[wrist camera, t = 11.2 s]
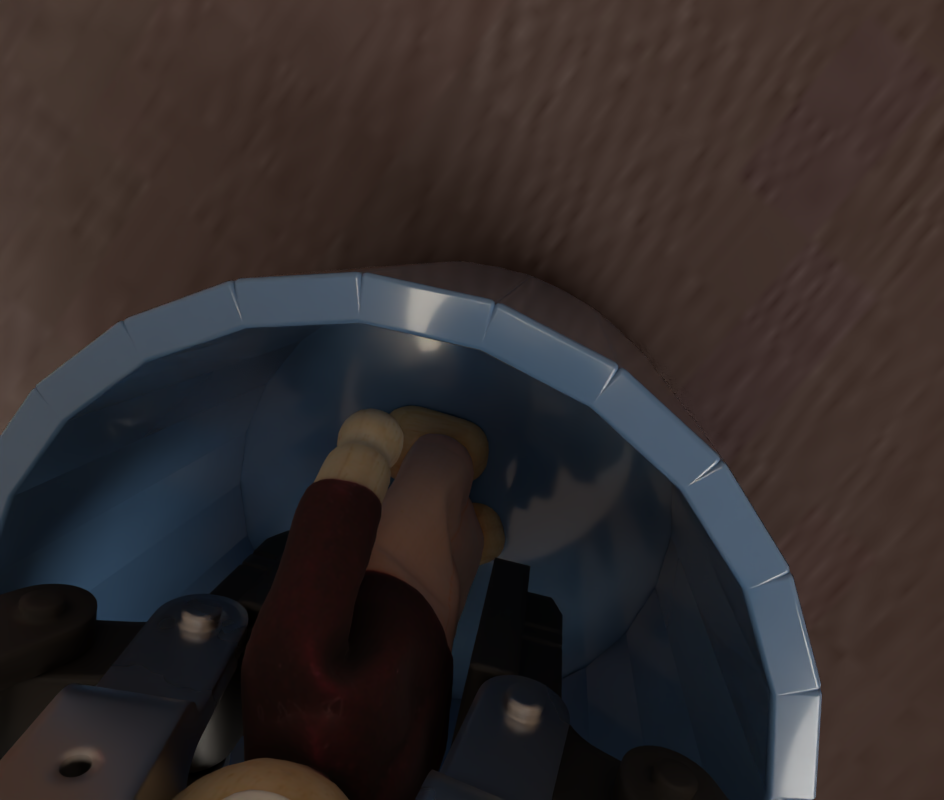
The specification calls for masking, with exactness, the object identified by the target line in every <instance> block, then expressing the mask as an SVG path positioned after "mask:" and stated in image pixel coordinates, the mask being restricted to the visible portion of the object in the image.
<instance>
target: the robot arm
mask: <svg viewBox="0 0 944 800" xmlns="http://www.w3.org/2000/svg"><path fill="white" fill-rule="evenodd" d="M289 531H290V530H287V531H285V532H282V533H280V534H277V535H275V536H272V537H270V538H267V539H266V540H265V541H264V542H263V543H262V544H261V545H260V546H259V547H258V548H257V549H255V550H254V552H253V554H250V555H249V556H248V557H247V558H246V559H245V560H244V561H243V563H242V565H239V566H238V567H237V568H236V569H235V570H234V571H233V572H231V573H230V574H229V575H228V576H227V577H226V578H225V579H224V580H223V581H222V582H221V583H220V584H219V585H218V586H217V587H216V588H215V589H214V590H213V591H212V592H211V593H210V594H192V595H186V596H182V597H178V598H175V599H173V600H170V601H168V602H166V603H164V604H163V605H162V606H160V607H159V608H158V609H157V610H156V611H155V612H154V613H153V615H152V616H151V617H150V618H149V620H148V621H147V622H129V621H109V620H96V619H97V600H96V598H95V596H94V595H93V594H92V593H90V592H89V591H87V590H85V589H83V588H80V587H77V586H73V585H67V584H41V585H34V586H28V587H25V588H21V589H17V590H14V591H11V592H8V593H4V594H1V595H0V800H172V799H173V798H174V797H175V796H176V795H177V794H178V793H180V792H181V791H182V790H184V789H185V788H187V787H188V786H189V785H191V784H192V783H193V782H195V781H196V780H198V779H200V778H202V777H203V776H205V775H207V774H209V773H212V772H214V771H216V770H219V769H221V768H223V767H225V766H228V765H229V761H230V754H231V751H232V750H233V749H234V747H235V746H236V744H237V743H238V741H239V740H240V738H241V737H242V736H243V722H242V703H241V666H242V660H243V657H244V654H245V649H246V645H247V643H248V641H249V639H250V636H251V632H252V629H253V626H254V624H255V622H256V619H257V617H258V614H259V611H260V609H261V607H262V605H263V603H264V601H265V599H266V597H267V595H268V593H269V591H270V589H271V587H272V584H273V581H274V578H275V576H276V573H277V571H278V568H279V564H280V561H281V558H282V556H283V552H284V549H285V545H286V542H287V538H288V534H289ZM529 576H530V566H528V565H524V564H520V563H516V562H512V561H508V560H504V559H500V558H496V557H495V559H494V563H493V568H492V572H491V576H490V580H489V585H488V589H487V593H486V597H485V601H484V606H483V610H482V614H481V618H480V623H479V627H478V631H477V635H476V640H475V644H474V648H473V652H472V656H471V661H470V665H469V669H468V674H467V678H466V682H465V687H464V691H463V695H462V700H461V704H460V708H459V713H458V717H457V721H456V726H455V730H454V734H453V739H452V743H451V747H450V751H449V753H448V755H447V757H446V759H445V761H444V763H443V765H442V767H441V769H440V771H439V772H438V771H435V770H433V769H432V770H431V771H430V772H429V774H428V775H427V777H426V779H425V781H424V783H423V784H422V786H421V789H420V791H419V793H418V795H417V797H416V799H415V800H729V799H728V798H727V797H726V795H725V794H724V793H723V791H722V790H721V789H720V787H719V786H718V785H717V783H716V782H715V781H714V780H713V778H712V777H711V776H710V775H709V774H708V773H707V772H706V771H705V770H704V769H703V768H702V767H700V766H699V765H698V764H696V763H695V762H694V761H692V760H691V759H689V758H687V757H686V756H684V755H682V754H680V753H678V752H675V751H673V750H670V749H667V748H663V747H659V746H650V745H645V746H638V747H635V748H633V749H631V750H629V751H628V752H627V753H626V754H625V755H624V756H623V758H622V761H620V760H618V759H616V758H614V757H613V756H611V755H609V754H607V753H605V752H603V751H601V750H600V749H598V748H596V747H595V746H593V745H591V744H590V743H589V742H587V741H586V740H585V739H583V738H582V737H581V736H580V735H579V734H578V733H577V732H576V731H575V730H574V729H573V728H572V726H571V725H570V715H569V711H568V709H567V706H566V705H565V703H564V701H563V700H562V620H563V615H562V613H561V612H560V610H559V608H558V607H557V605H556V604H555V602H554V600H553V599H552V598H551V597H547V596H543V595H539V594H535V593H531V592H528V585H529Z"/></svg>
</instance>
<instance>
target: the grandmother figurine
mask: <svg viewBox="0 0 944 800" xmlns="http://www.w3.org/2000/svg"><path fill="white" fill-rule="evenodd" d="M488 454H489V447H488V440H487V437H486V435H485V433H484V432H483V431H482V429H481V428H480V427H479V426H478V425H476V424H474V423H472V422H470V421H467V420H465V419H461V418H458V417H454V416H451V415H448V414H444V413H441V412H438V411H435V410H431V409H427V408H424V407H419V406H404V407H401V408H398V409H395V410H394V411H392V412H391V413H390V414H388V413H386V412H384V411H381V410H378V409H372V408H370V409H363V410H359V411H358V412H356V413H354V414H352V415H351V416H350V417H349V418H347V419H346V420H345V421H344V423H343V425H342V426H341V429H340V431H339V433H338V440H337V447H336V448H335V449H334V450H332V451H331V452H330V453H329V454H328V456H327V458H326V459H325V461H324V463H323V465H322V467H321V469H320V471H319V473H318V475H317V477H316V479H315V481H314V482H313V483H312V484H311V485H310V486H309V487H308V488H307V489H306V491H305V492H304V494H303V496H302V498H301V499H300V501H299V504H298V506H297V508H296V511H295V514H294V517H293V520H292V523H291V527H290V531H289V534H288V538H287V542H286V545H285V549H284V552H283V556H282V558H281V561H280V564H279V568H278V571H277V573H276V576H275V578H274V581H273V584H272V587H271V589H270V591H269V593H268V595H267V597H266V599H265V601H264V603H263V605H262V607H261V609H260V611H259V614H258V617H257V619H256V622H255V624H254V626H253V629H252V632H251V636H250V639H249V641H248V643H247V645H246V649H245V654H244V657H243V660H242V666H241V703H242V722H243V736H244V762H241V763H237V764H233V765H228V766H225V767H223V768H221V769H219V770H216V771H214V772H212V773H209V774H207V775H205V776H203V777H202V778H200V779H198V780H196V781H195V782H193V783H192V784H191V785H189V786H188V787H187V788H185V789H184V790H182V791H181V792H180V793H178V794H177V795H176V796H175V797H174V798H173V799H172V800H415V799H416V797H417V795H418V793H419V791H420V789H421V786H422V784H423V783H424V781H425V779H426V777H427V775H428V774H429V772H430V771H431V770H432V769H433V770H435V771H439V769H440V766H441V763H442V761H443V757H444V754H445V751H446V745H447V739H448V727H449V715H450V707H451V700H452V686H453V656H452V646H453V640H454V638H455V635H456V630H457V625H458V621H459V619H460V616H461V614H462V611H463V608H464V606H465V603H466V600H467V596H468V593H469V590H470V587H471V585H472V583H473V580H474V578H475V575H476V573H477V570H478V567H479V565H482V564H485V563H488V562H490V561H492V560H494V559H495V557H496V558H497V557H498V556H499V555H500V554H501V552H502V550H503V548H504V543H505V534H504V529H503V525H502V522H501V519H500V517H499V515H498V514H497V513H496V512H495V511H494V510H493V509H492V508H490V507H489V506H487V505H484V504H481V503H472V502H471V500H470V498H469V494H470V490H471V486H472V482H473V480H475V479H477V478H478V477H479V476H480V475H481V474H482V473H483V471H484V469H485V468H486V466H487V461H488ZM390 477H392V478H394V479H395V480H394V481H393V483H392V484H391V486H390V487H389V484H390ZM388 487H389V489H388Z"/></svg>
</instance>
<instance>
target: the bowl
mask: <svg viewBox="0 0 944 800" xmlns="http://www.w3.org/2000/svg"><path fill="white" fill-rule="evenodd" d="M404 406H419V407H424V408H427V409H431V410H435V411H438V412H441V413H444V414H448V415H451V416H454V417H458V418H461V419H465V420H467V421H470V422H472V423H474V424H476V425H478V426H479V427H480V428H481V429H482V431H483V432H484V433H485V435H486V437H487V440H488V447H489V454H488V461H487V466H486V468H485V469H484V471H483V473H482V474H481V475H480V476H479V477H478V478H477V479H475V480H473V482H472V486H471V490H470V494H469V498H470V500H471V502H472V503H481V504H484V505H487V506H489V507H490V508H492V509H493V510H494V511H495V512H496V513H497V514H498V515H499V517H500V519H501V522H502V525H503V529H504V534H505V543H504V548H503V550H502V552H501V554H500V555H499V556H498V557H497V558H500V559H504V560H508V561H512V562H516V563H520V564H524V565H528V566H530V576H529V585H528V592H531V593H535V594H539V595H543V596H547V597H551V598H552V599H553V600H554V602H555V604H556V605H557V607H558V608H559V610H560V612H561V613H562V615H563V620H562V700H563V701H564V703H565V705H566V706H567V709H568V711H569V715H570V725H571V726H572V728H573V729H574V730H575V731H576V732H577V733H578V734H579V735H580V736H581V737H582V738H583V739H585V740H586V741H587V742H589V743H590V744H591V745H593V746H595V747H596V748H598V749H600V750H601V751H603V752H605V753H607V754H609V755H611V756H613V757H614V758H616V759H618V760H620V761H622V758H623V756H624V755H625V754H626V753H627V752H628V751H629V750H631V749H633V748H635V747H638V746H645V745H650V746H659V747H663V748H667V749H670V750H673V751H675V752H678V753H680V754H682V755H684V756H686V757H687V758H689V759H691V760H692V761H694V762H695V763H696V764H698V765H699V766H700V767H702V768H703V769H704V770H705V771H706V772H707V773H708V774H709V775H710V776H711V777H712V778H713V780H714V781H715V782H716V783H717V785H718V786H719V787H720V789H721V790H722V791H723V793H724V794H725V795H726V797H727V798H728V799H729V800H814V799H815V798H816V785H817V768H818V752H819V735H820V718H821V702H822V692H821V690H820V687H821V681H820V677H819V673H818V669H817V665H816V662H815V658H814V654H813V650H812V646H811V642H810V639H809V635H808V631H807V627H806V623H805V619H804V616H803V612H802V608H801V604H800V600H799V596H798V592H797V589H796V585H795V581H794V577H793V575H792V574H791V572H790V570H789V565H788V563H787V562H786V560H785V558H784V557H783V555H782V553H781V552H780V550H779V549H778V547H777V545H776V544H775V542H774V540H773V539H772V537H771V535H770V534H769V532H768V531H767V529H766V527H765V526H764V524H763V522H762V521H761V519H760V518H759V516H758V514H757V513H756V511H755V509H754V508H753V506H752V504H751V503H750V501H749V500H748V498H747V496H746V495H745V493H744V491H743V490H742V488H741V487H740V485H739V483H738V482H737V480H736V478H735V477H734V475H733V474H732V472H731V470H730V469H729V467H728V465H727V464H726V462H725V461H724V460H723V458H722V457H721V456H720V454H719V453H718V452H717V450H716V449H715V448H714V446H713V445H712V444H711V442H710V441H709V440H708V438H707V437H706V436H705V434H704V433H703V432H702V430H701V429H700V428H699V426H698V425H697V424H696V422H695V421H694V420H693V419H692V417H691V416H690V415H689V413H688V412H687V411H686V409H685V408H684V407H683V405H682V404H681V403H680V401H679V400H678V399H677V397H676V396H675V395H674V393H673V392H672V391H671V389H670V388H669V387H668V385H667V384H666V383H665V381H664V380H663V379H662V377H661V376H660V375H659V373H658V372H657V371H656V369H655V368H654V367H653V365H652V364H651V363H650V361H649V360H648V359H647V357H645V355H644V354H643V353H642V352H641V351H640V350H639V349H638V348H637V347H636V346H635V345H634V344H633V343H632V342H631V341H629V340H628V339H627V338H626V337H625V336H624V335H623V334H622V333H621V331H620V330H619V329H618V328H617V327H615V326H614V325H613V324H612V323H610V322H609V321H608V320H607V319H606V318H605V317H603V316H602V315H601V314H600V313H599V312H598V311H597V310H596V309H593V308H592V307H591V306H590V305H588V304H586V303H584V302H582V301H580V300H579V299H577V298H575V297H574V296H572V295H570V294H569V293H567V292H565V291H564V290H562V289H560V288H557V287H555V286H553V285H551V284H548V283H546V282H544V281H542V280H540V279H538V278H536V277H532V276H530V275H528V274H524V273H519V272H515V271H511V270H508V269H504V268H501V267H495V266H488V265H482V264H477V263H472V262H468V261H464V262H462V261H450V262H432V263H416V264H399V265H387V266H376V267H364V268H352V269H340V270H328V271H317V272H305V273H293V274H281V275H270V276H258V277H246V278H239V279H237V280H228V281H226V282H223V283H220V284H217V285H215V286H212V287H209V288H206V289H204V290H201V291H198V292H195V293H192V294H190V295H187V296H184V297H181V298H179V299H176V300H173V301H170V302H168V303H165V304H162V305H159V306H157V307H154V308H151V309H148V310H146V311H143V312H140V313H137V314H135V315H132V316H129V317H127V318H126V319H125V320H124V321H118V322H117V323H116V324H114V325H113V326H112V327H110V328H109V329H108V330H107V331H105V332H104V333H103V334H101V335H100V336H99V337H97V338H96V339H95V340H93V341H92V342H91V343H90V344H88V345H87V346H86V347H84V348H83V349H82V350H80V351H79V352H78V353H77V354H75V355H74V356H73V357H71V358H70V359H69V360H67V361H66V362H65V363H64V364H62V365H61V366H60V367H58V368H57V369H56V370H54V371H53V372H52V373H51V374H49V375H48V376H47V377H45V378H44V379H43V380H41V381H40V382H39V383H38V384H37V385H36V386H35V388H33V389H32V390H31V392H30V393H29V395H28V396H27V397H26V399H25V400H24V402H23V403H22V405H21V406H20V408H19V409H18V411H17V412H16V413H15V415H14V416H13V418H12V419H11V421H10V422H9V424H8V425H7V427H6V428H5V429H4V431H3V432H2V434H1V435H0V595H1V594H4V593H8V592H11V591H14V590H17V589H21V588H25V587H28V586H34V585H41V584H67V585H73V586H77V587H80V588H83V589H85V590H87V591H89V592H90V593H92V594H93V595H94V596H95V598H96V600H97V619H96V620H109V621H129V622H147V621H148V620H149V618H150V617H151V616H152V615H153V613H154V612H155V611H156V610H157V609H158V608H159V607H160V606H162V605H163V604H164V603H166V602H168V601H170V600H173V599H175V598H178V597H182V596H186V595H192V594H210V593H211V592H212V591H213V590H214V589H215V588H216V587H217V586H218V585H219V584H220V583H221V582H222V581H223V580H224V579H225V578H226V577H227V576H228V575H229V574H230V573H231V572H233V571H234V570H235V569H236V568H237V567H238V566H239V565H242V563H243V561H244V560H245V559H246V558H247V557H248V556H249V555H250V554H253V552H254V550H255V549H257V548H258V547H259V546H260V545H261V544H262V543H263V542H264V541H265V540H266V539H267V538H270V537H272V536H275V535H277V534H280V533H282V532H285V531H287V530H290V527H291V523H292V520H293V517H294V514H295V511H296V508H297V506H298V504H299V501H300V499H301V498H302V496H303V494H304V492H305V491H306V489H307V488H308V487H309V486H310V485H311V484H312V483H313V482H314V481H315V479H316V477H317V475H318V473H319V471H320V469H321V467H322V465H323V463H324V461H325V459H326V458H327V456H328V454H329V453H330V452H331V451H332V450H334V449H335V448H336V447H337V440H338V433H339V431H340V429H341V426H342V425H343V423H344V421H345V420H346V419H347V418H349V417H350V416H351V415H352V414H354V413H356V412H358V411H359V410H363V409H370V408H372V409H378V410H381V411H384V412H386V413H388V414H390V413H391V412H392V411H394V410H395V409H398V408H401V407H404ZM394 480H395V479H394V478H392V477H390V484H389V487H390V486H391V484H392V483H393V481H394ZM389 487H388V489H389ZM493 563H494V560H492V561H490V562H488V563H485V564H482V565H479V567H478V570H477V573H476V575H475V578H474V580H473V583H472V585H471V587H470V590H469V593H468V596H467V600H466V603H465V606H464V608H463V611H462V614H461V616H460V619H459V621H458V625H457V630H456V635H455V638H454V640H453V646H452V656H453V686H452V700H451V707H450V715H449V727H448V739H447V745H446V751H445V754H444V757H443V761H442V763H441V766H440V769H441V767H442V765H443V763H444V761H445V759H446V757H447V755H448V753H449V751H450V747H451V743H452V739H453V734H454V730H455V726H456V721H457V717H458V713H459V708H460V704H461V700H462V695H463V691H464V687H465V682H466V678H467V674H468V669H469V665H470V661H471V656H472V652H473V648H474V644H475V640H476V635H477V631H478V627H479V623H480V618H481V614H482V610H483V606H484V601H485V597H486V593H487V589H488V585H489V580H490V576H491V572H492V568H493ZM241 762H244V736H242V737H241V738H240V740H239V741H238V743H237V744H236V746H235V747H234V749H233V750H232V751H231V754H230V761H229V765H233V764H237V763H241ZM440 769H439V771H440ZM439 771H438V772H439Z"/></svg>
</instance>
